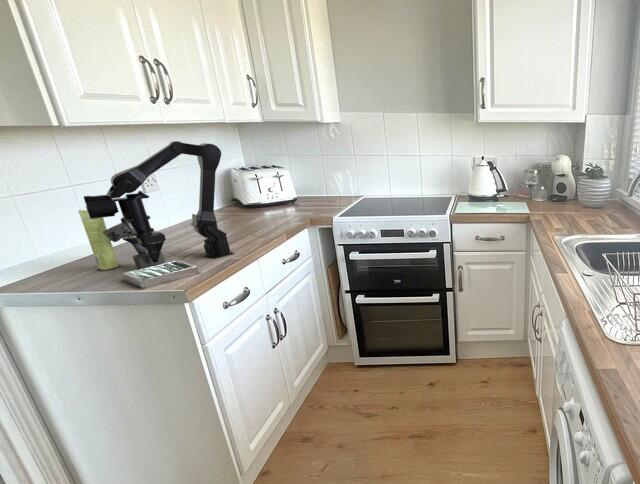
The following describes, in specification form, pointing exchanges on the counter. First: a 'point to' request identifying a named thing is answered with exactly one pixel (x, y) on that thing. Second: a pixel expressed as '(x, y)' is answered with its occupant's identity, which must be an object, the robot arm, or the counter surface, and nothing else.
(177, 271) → the striped rimmed tray
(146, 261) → the dark grey block
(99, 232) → the tube
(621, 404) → the counter surface
